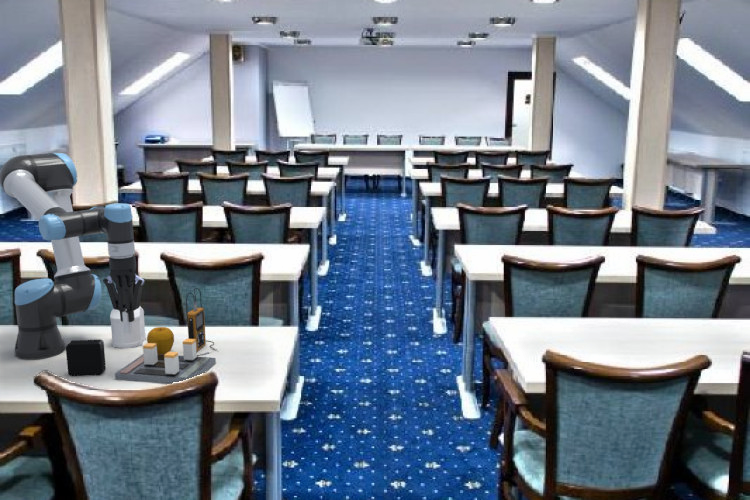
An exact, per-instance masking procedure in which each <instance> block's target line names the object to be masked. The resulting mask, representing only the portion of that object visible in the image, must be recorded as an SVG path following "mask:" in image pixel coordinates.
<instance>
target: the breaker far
mask: <svg viewBox="0 0 750 500" xmlns="http://www.w3.org/2000/svg"><path fill="white" fill-rule="evenodd" d="M182 352H183V356H184V360H194V359H195V358H196V357H198V356H197V355H198V354H197V353H198V351H196V339H189V338H186V339H184V340H183V341H182Z"/></svg>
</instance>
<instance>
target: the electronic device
mask: <svg viewBox="0 0 750 500" xmlns="http://www.w3.org/2000/svg"><path fill="white" fill-rule="evenodd" d="M65 354H66V365H67V374H68V376H69V377H89V376H90V377H93V376H101V375H103V373H104V372H105V370H106V369H107V367H106V355H105V354H106V353H105V344H104V340H103V339H77V340H76V339H75V340H74V339H73V340H71V341H69V342H68V344H66V345H65Z"/></svg>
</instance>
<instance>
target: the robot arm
mask: <svg viewBox="0 0 750 500" xmlns="http://www.w3.org/2000/svg"><path fill="white" fill-rule="evenodd" d="M77 183H78V172H77V168H76V165H75V163H74V162H73V160H72V159H71V157H69V155H67V154H65V153H62V152H58V153H55V152H51V153H50V152H48V153H38V154H36V153H35V154H22V155H21V154H20V155H16V156H14V157H11V158H10V159H8V160H7V161H6V162H5V163H4V164H3V165H2V167H1V169H0V187H1V188H2V190H3V191H4V192H5V193H6V194H7V195H8V196H10V197H11V198H15V199H16V200H17V201H18V202H19V203H20V204H21V205H22V206H24V208H26V210H27V211H28V212H30V214H31V215H32V216H34V217H35V219H36V220H37V221H38V231H39V233H40V236H41V237H42V239H44V240H45V241H51V245H52V251H53V255H54V260H55V264H56V265H55V266H56V268H57V271H56V273H55V274H54V276H53V279H54V281H53V280H52V279H51V278H46V277H45V278H44V277H43V278H40V279H39V278H36V279H35V278H34V279H31V280H28V281H26V282H23V283H21V284H19V285H18V286H17V287H16V288H15V289H14V304H15V305H14V306H15V313H16V321H17V330H18V334H17V337H16V341H15V346H14V356H15V357H16V358H18V359H22V360H40V359H45V358H51V357H54V356H57V355H60V354H61V353H63V352H64V351H66V342H65V340H64V338H63V336H62V333H61V331H60V329H59V328H58V322H57V319H58V318H60V317H65V316H69V315H73V314H78V313H84V312H87V311H91V310H94V309H96V308H97V307H99V304H100V302H101V299H102V285H101V281H100V279H99V277H98V276H97V275H96V274H93V273H92V272H91V269H90V268H89V267H87V266H86V265H85V260H84V257H83V252H82V247H81V242H80V237H84V236H90V235H97V234H106V242H107V251H108V256H109V258H108V263H109V264H108V265H109V270H110V272H109V275H108V276H107V277H105V278H103V279H102V282H103V283H104V285H105V287H106V289H107V292H108V295H109V299H110V301H111V306H112V309H113V308H114V309H115V310H116V309H117V310H119V311H120V319H121V322H123V327H124V333H130V332H131V331H133V324H132V322H133V321H134V310H136V309H138V308H139V307H141V300H142V299H141V298H142V294H143V292H142V291H143V286H144V284H145V282H146V278H144V277H143V278H142V277H140V276H139V273H138V272H137V261H136V260H137V259H136V256H135V254H136V249H135V240H134V226H133V225H134V224H133V213H132V207H131V206H130V204H129V203H121V202H120V203H119V202H118V203H110V204H106V205H105V207H104V206H93V207H91V208H90V209H85V210H83V209H82V210H76V211H75V210H74V209H73V206H72V200H71V194H72V193H73V192H74V186H76V185H77ZM134 284H135V286H134ZM126 309H127V310H126Z"/></svg>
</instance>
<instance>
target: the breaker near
mask: <svg viewBox="0 0 750 500" xmlns="http://www.w3.org/2000/svg"><path fill="white" fill-rule="evenodd" d="M178 355H179V352H177V351H170V352H168V353H166V354H165V355H164V359H165V373H166V374H176V373H177V372H179V359H178Z"/></svg>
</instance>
